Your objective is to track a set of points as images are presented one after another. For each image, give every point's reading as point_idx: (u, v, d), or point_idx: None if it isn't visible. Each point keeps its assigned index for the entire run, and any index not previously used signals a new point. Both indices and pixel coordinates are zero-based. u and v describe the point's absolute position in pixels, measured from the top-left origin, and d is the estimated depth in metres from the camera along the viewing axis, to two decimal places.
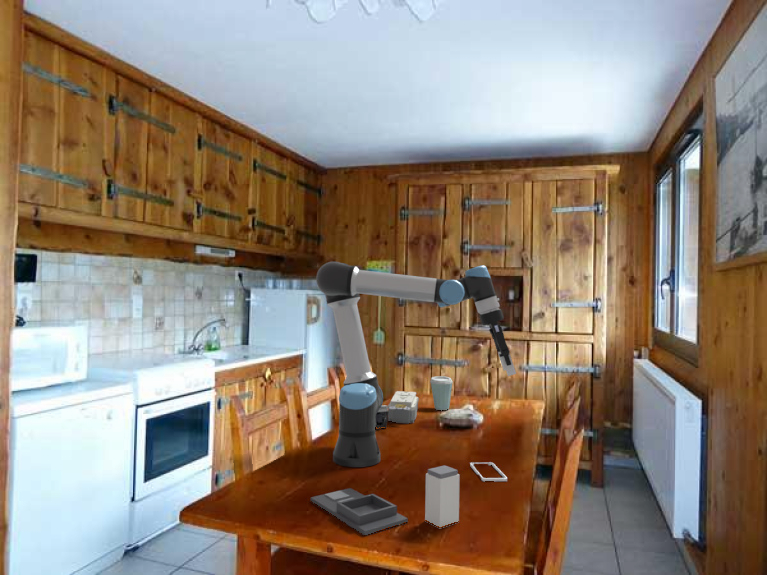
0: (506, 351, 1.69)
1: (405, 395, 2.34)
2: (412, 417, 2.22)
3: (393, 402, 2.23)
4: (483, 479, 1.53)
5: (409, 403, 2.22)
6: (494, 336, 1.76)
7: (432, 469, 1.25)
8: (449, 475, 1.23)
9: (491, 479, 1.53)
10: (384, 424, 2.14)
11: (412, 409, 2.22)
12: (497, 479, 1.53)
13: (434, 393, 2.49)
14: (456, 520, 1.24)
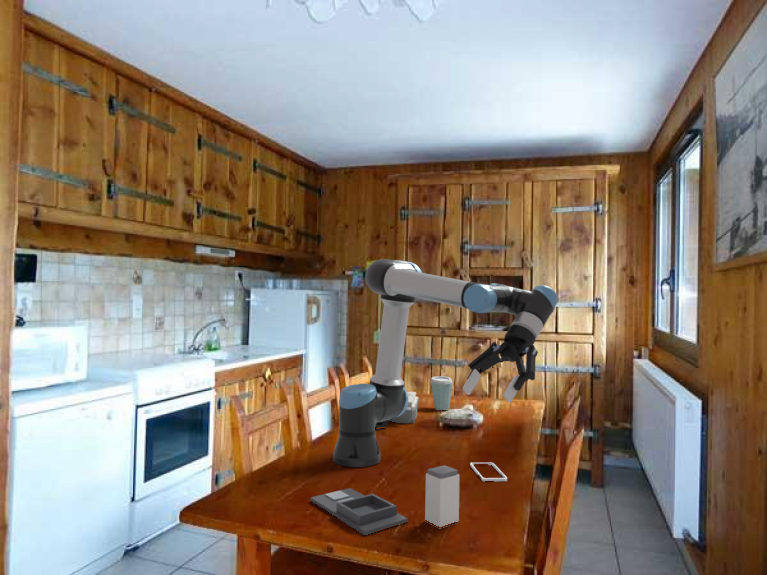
0: (533, 376, 1.30)
1: None
2: (413, 417, 2.22)
3: None
4: (483, 479, 1.53)
5: (410, 403, 2.22)
6: (517, 353, 1.37)
7: (432, 469, 1.25)
8: (449, 475, 1.23)
9: (491, 479, 1.53)
10: (384, 424, 2.14)
11: (413, 409, 2.22)
12: (497, 479, 1.53)
13: (434, 393, 2.49)
14: (456, 520, 1.24)
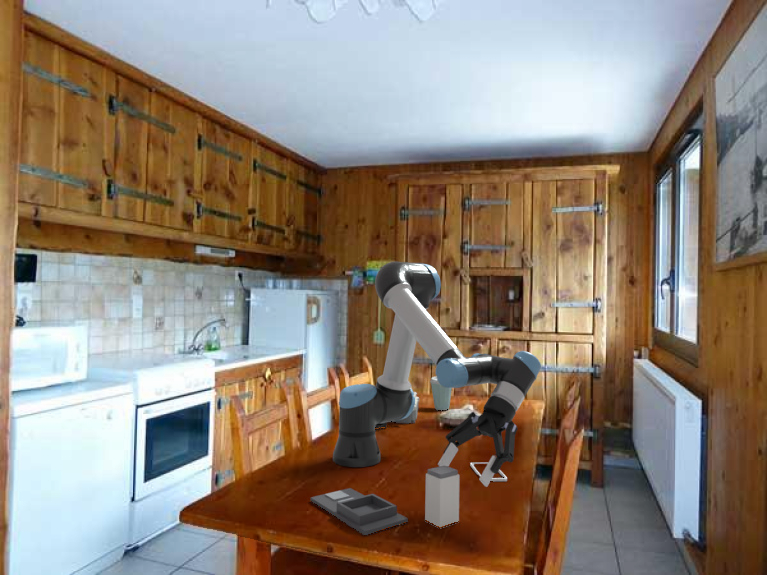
0: (511, 458, 1.23)
1: None
2: (413, 417, 2.22)
3: None
4: None
5: None
6: (496, 430, 1.29)
7: (432, 469, 1.25)
8: (449, 475, 1.23)
9: (491, 479, 1.53)
10: (384, 424, 2.14)
11: (413, 409, 2.22)
12: (497, 479, 1.53)
13: (434, 393, 2.49)
14: (456, 520, 1.24)
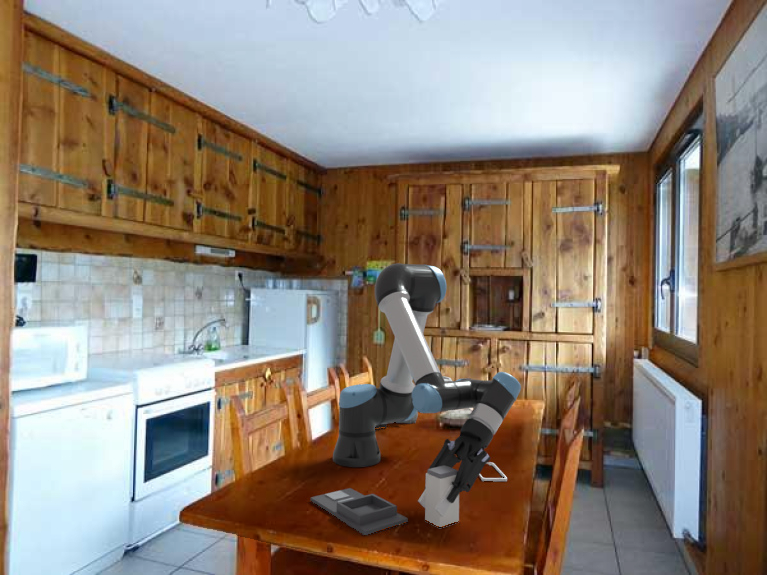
0: (467, 488, 1.21)
1: None
2: (414, 417, 2.22)
3: None
4: (483, 479, 1.53)
5: None
6: (467, 456, 1.26)
7: (432, 469, 1.25)
8: (449, 475, 1.23)
9: (491, 479, 1.53)
10: (384, 424, 2.14)
11: None
12: (497, 479, 1.53)
13: None
14: (456, 520, 1.24)
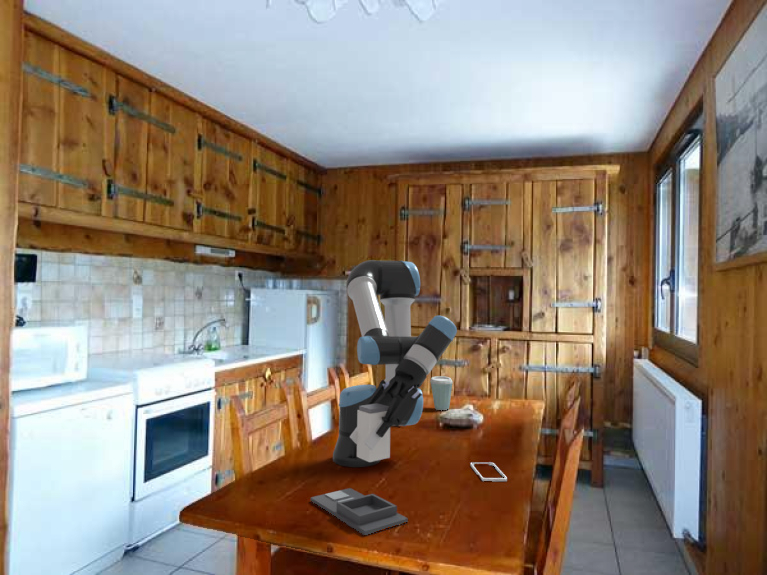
0: (396, 423, 1.23)
1: None
2: None
3: None
4: (483, 479, 1.53)
5: None
6: (398, 393, 1.28)
7: (363, 406, 1.27)
8: (379, 411, 1.25)
9: (491, 479, 1.53)
10: None
11: None
12: (497, 479, 1.53)
13: (434, 393, 2.49)
14: (387, 455, 1.26)
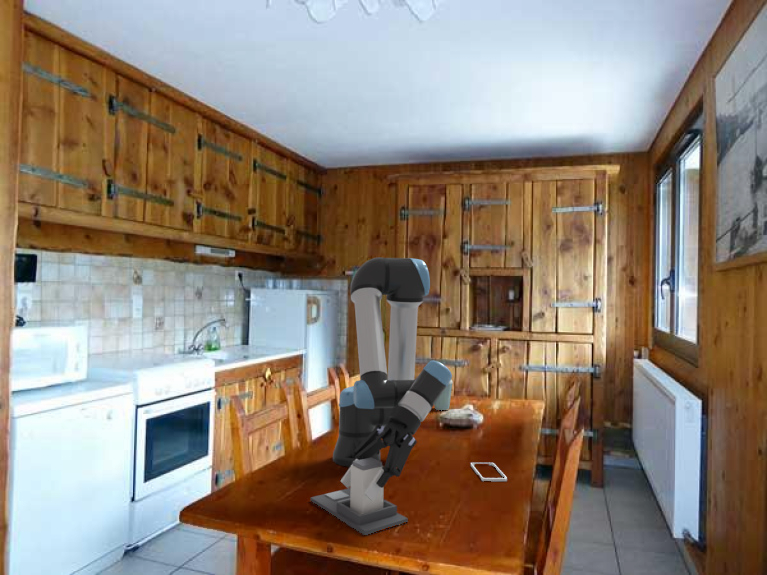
0: (397, 472, 1.22)
1: None
2: None
3: None
4: (483, 479, 1.53)
5: None
6: (394, 441, 1.28)
7: (357, 461, 1.27)
8: (372, 467, 1.25)
9: (491, 479, 1.53)
10: None
11: None
12: (497, 479, 1.53)
13: None
14: None
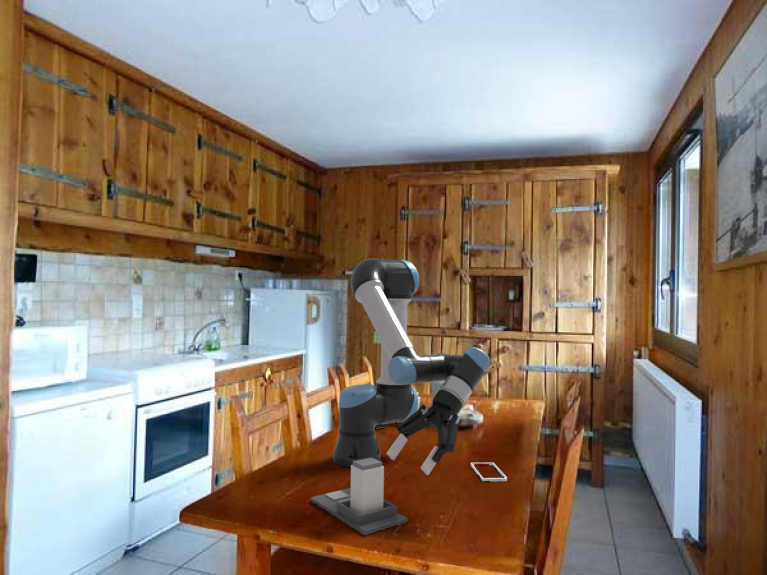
0: (452, 448, 1.29)
1: None
2: None
3: None
4: (483, 479, 1.53)
5: None
6: (441, 422, 1.36)
7: (357, 461, 1.27)
8: (373, 467, 1.25)
9: (491, 479, 1.53)
10: (384, 424, 2.14)
11: None
12: (497, 479, 1.53)
13: (434, 393, 2.49)
14: None
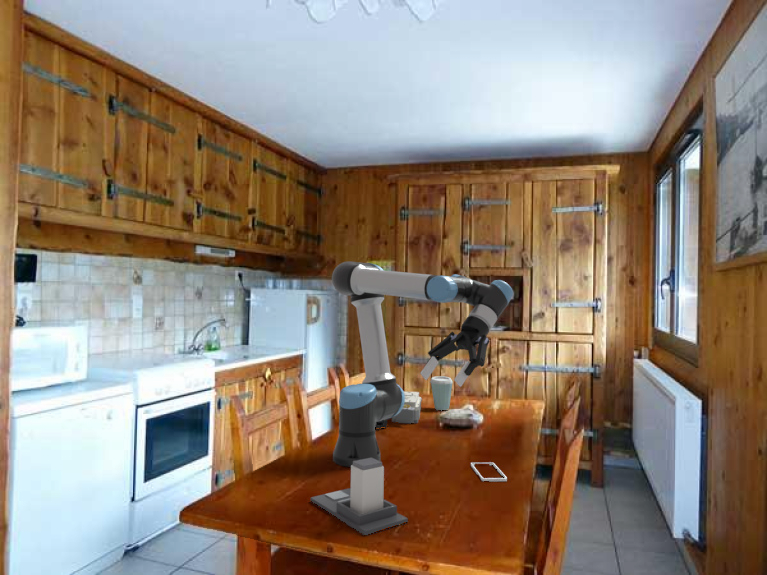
0: (482, 362, 1.42)
1: (408, 395, 2.33)
2: (416, 417, 2.22)
3: None
4: (482, 479, 1.53)
5: (413, 403, 2.22)
6: (471, 342, 1.49)
7: (357, 461, 1.27)
8: (373, 467, 1.25)
9: (490, 479, 1.53)
10: (384, 424, 2.14)
11: (416, 409, 2.22)
12: (497, 479, 1.53)
13: (434, 393, 2.49)
14: None
